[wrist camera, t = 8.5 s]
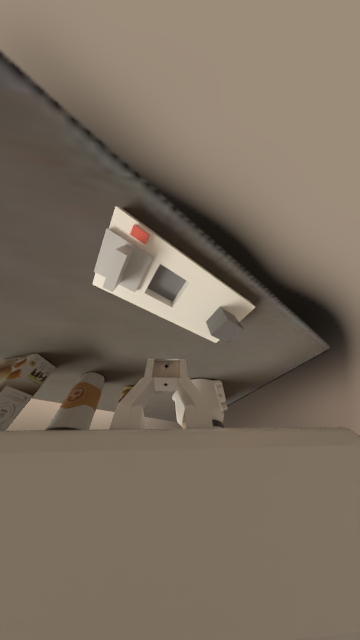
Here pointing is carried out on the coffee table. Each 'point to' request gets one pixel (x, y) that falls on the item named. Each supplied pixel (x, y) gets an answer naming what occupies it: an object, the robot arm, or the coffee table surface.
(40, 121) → the coffee table surface
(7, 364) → the coffee box
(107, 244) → the grey lid with handle
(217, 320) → the dark grey cube
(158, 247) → the socket plate
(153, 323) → the coffee table surface
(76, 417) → the coffee cup
